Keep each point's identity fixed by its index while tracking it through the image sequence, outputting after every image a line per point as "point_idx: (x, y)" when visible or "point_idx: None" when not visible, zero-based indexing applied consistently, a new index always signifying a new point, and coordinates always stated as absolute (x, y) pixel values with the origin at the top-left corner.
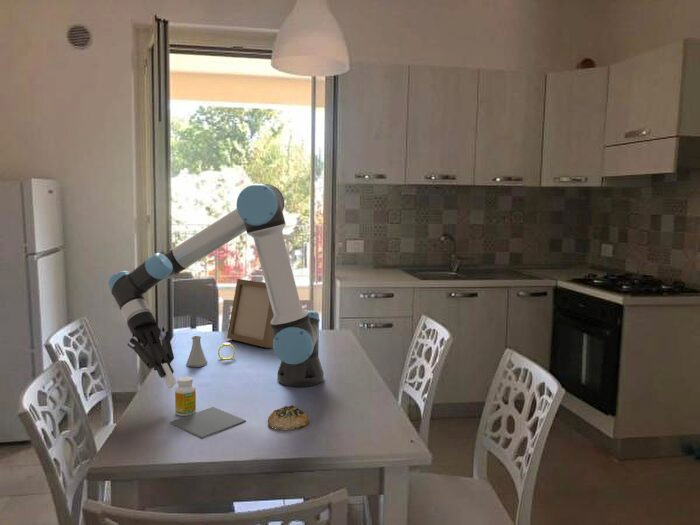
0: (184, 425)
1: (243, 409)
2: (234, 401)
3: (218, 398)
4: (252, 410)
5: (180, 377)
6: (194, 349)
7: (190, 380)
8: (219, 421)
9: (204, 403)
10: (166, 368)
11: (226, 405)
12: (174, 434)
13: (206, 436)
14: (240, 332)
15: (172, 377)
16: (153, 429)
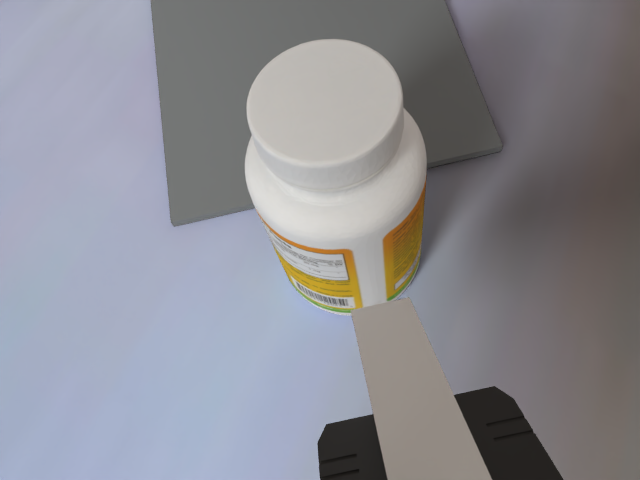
0: (441, 61)
1: (56, 124)
2: (5, 259)
3: (40, 373)
4: (33, 91)
5: (349, 150)
6: None
7: (296, 46)
8: (259, 26)
9: (169, 338)
10: (432, 419)
11: (85, 226)
12: (519, 16)
13: None
14: None
15: (381, 336)
16: (615, 118)
